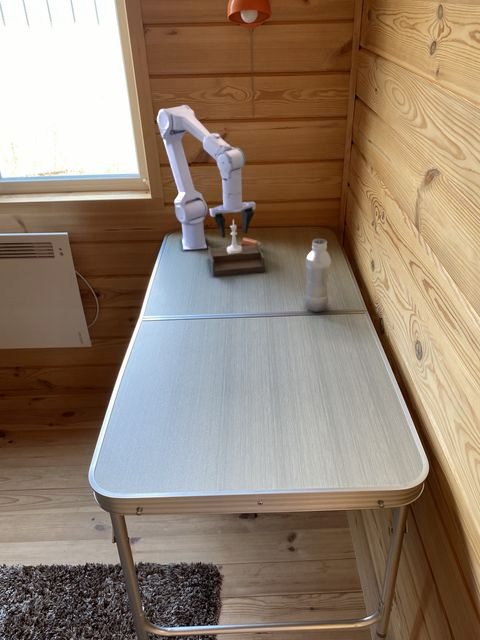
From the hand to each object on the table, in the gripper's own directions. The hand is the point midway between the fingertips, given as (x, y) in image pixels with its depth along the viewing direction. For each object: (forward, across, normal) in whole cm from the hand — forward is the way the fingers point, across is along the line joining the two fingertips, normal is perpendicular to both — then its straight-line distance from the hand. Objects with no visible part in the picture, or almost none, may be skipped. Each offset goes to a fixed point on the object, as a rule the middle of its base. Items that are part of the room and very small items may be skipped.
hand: (233, 234), depth 163 cm
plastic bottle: (+10, +8, -38) cm, 40 cm away
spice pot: (+7, +6, +8) cm, 12 cm away
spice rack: (+10, -1, -3) cm, 10 cm away
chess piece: (+6, 0, 0) cm, 6 cm away
